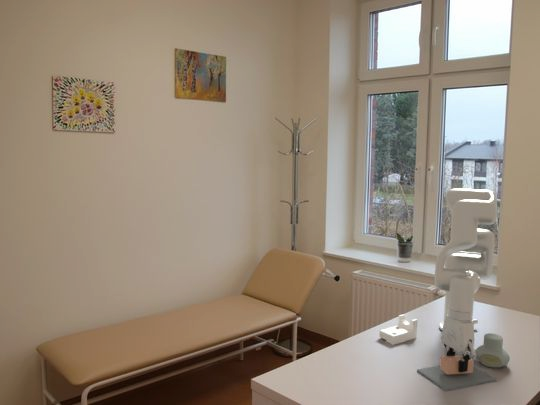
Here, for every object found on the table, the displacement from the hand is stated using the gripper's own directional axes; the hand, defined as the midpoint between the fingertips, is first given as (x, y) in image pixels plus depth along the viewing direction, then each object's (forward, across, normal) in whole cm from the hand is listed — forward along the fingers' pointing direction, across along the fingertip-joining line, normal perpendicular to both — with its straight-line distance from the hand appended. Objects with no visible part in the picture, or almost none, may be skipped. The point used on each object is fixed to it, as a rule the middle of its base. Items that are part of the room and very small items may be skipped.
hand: (456, 367), depth 162 cm
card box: (+1, 0, 0) cm, 1 cm away
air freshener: (+3, -3, +18) cm, 19 cm away
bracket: (+3, -33, +1) cm, 33 cm away
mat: (+3, 0, 0) cm, 3 cm away
